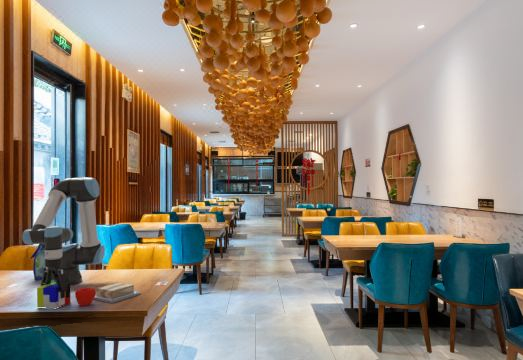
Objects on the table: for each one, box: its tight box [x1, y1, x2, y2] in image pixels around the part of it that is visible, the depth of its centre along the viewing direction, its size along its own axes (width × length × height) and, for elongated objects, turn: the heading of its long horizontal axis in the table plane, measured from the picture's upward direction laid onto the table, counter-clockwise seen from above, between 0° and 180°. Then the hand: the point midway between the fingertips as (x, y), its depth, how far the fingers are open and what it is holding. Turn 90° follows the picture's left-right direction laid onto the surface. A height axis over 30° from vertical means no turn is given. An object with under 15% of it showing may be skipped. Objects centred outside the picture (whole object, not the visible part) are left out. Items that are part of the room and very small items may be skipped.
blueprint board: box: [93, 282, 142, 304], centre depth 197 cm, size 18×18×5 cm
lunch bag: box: [30, 244, 47, 281], centre depth 250 cm, size 22×17×26 cm
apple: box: [74, 287, 97, 307], centre depth 183 cm, size 9×9×8 cm
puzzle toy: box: [36, 281, 72, 308], centre depth 183 cm, size 10×10×10 cm
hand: (54, 303), depth 183 cm, fingers closed on puzzle toy, 12 cm apart
